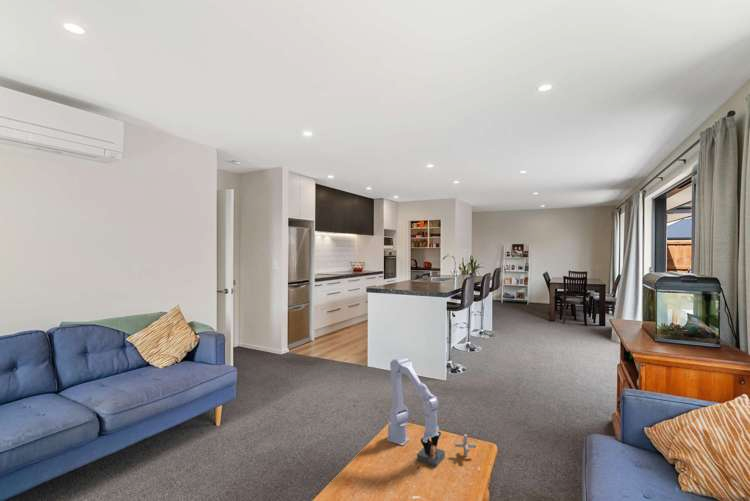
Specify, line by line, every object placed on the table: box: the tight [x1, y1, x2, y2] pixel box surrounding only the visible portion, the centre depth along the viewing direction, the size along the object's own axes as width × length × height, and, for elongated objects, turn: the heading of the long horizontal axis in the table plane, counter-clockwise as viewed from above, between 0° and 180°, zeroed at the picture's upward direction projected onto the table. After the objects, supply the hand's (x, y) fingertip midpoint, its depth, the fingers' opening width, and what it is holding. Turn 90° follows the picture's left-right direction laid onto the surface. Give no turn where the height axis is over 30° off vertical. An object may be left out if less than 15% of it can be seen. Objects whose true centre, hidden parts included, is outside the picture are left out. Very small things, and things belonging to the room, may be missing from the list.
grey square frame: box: [416, 447, 446, 468], centre depth 171 cm, size 10×10×3 cm
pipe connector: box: [454, 433, 477, 458], centre depth 174 cm, size 10×10×10 cm
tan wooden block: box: [430, 445, 437, 456], centre depth 171 cm, size 3×3×6 cm
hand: (431, 450), depth 171 cm, fingers open, 7 cm apart
